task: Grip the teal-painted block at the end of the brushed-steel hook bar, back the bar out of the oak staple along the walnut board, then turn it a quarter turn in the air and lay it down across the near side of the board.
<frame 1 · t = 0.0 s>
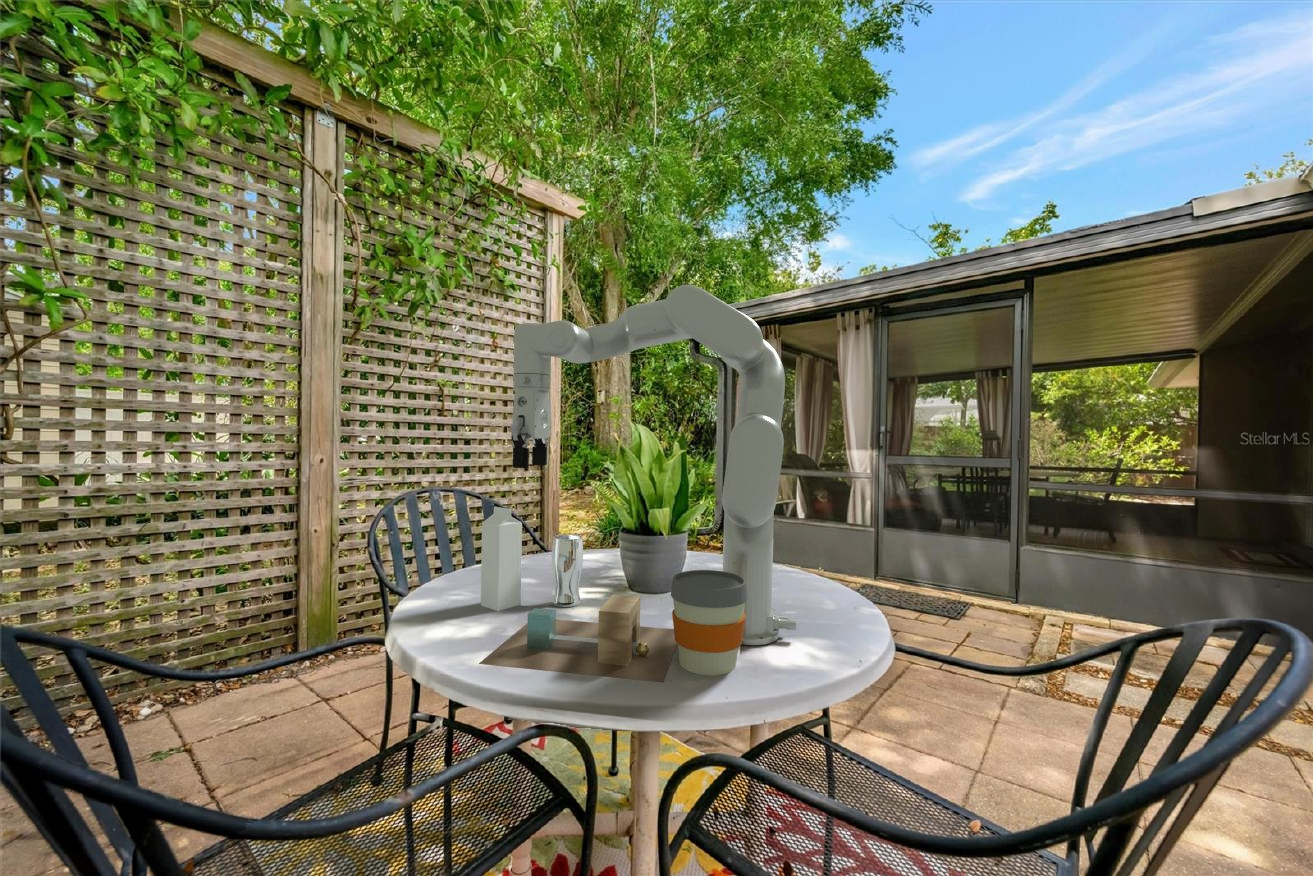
hand: (530, 466, 115), 31 cm above the table, tool pointing down, fingers open, 9 cm apart
milk: (500, 611, 118), on the table
reusable coffee cup: (707, 671, 90), on the table
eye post: (619, 660, 94), resting on board
hook rod: (541, 646, 96), point 1 cm above the table, touching board
board: (589, 652, 97), on the table
beer glass: (566, 604, 124), on the table
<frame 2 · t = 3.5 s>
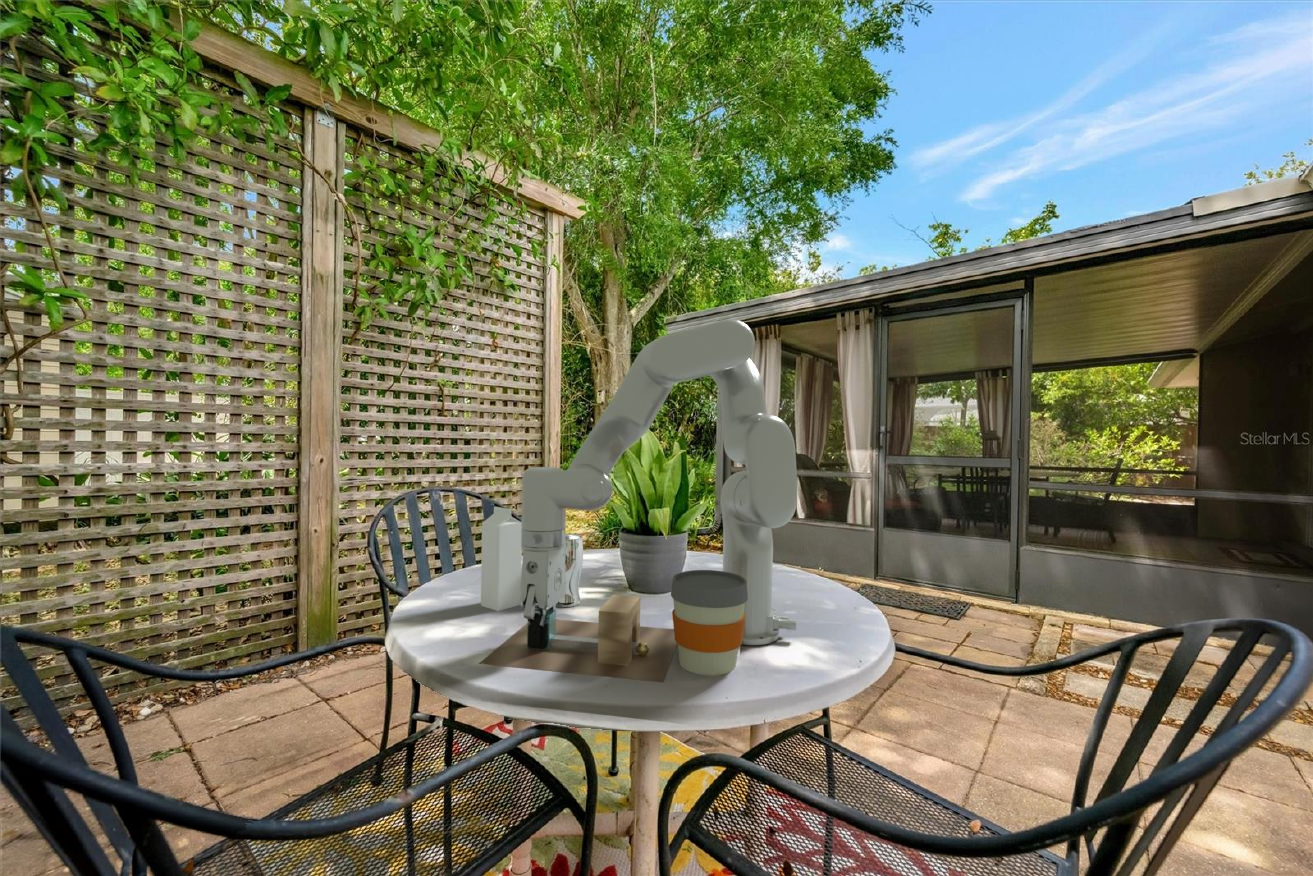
hand: (541, 642, 96), 2 cm above the table, tool pointing down, fingers closed on hook rod, 3 cm apart
hook rod: (541, 646, 96), point 1 cm above the table, touching board, gripper
everything else where it was.
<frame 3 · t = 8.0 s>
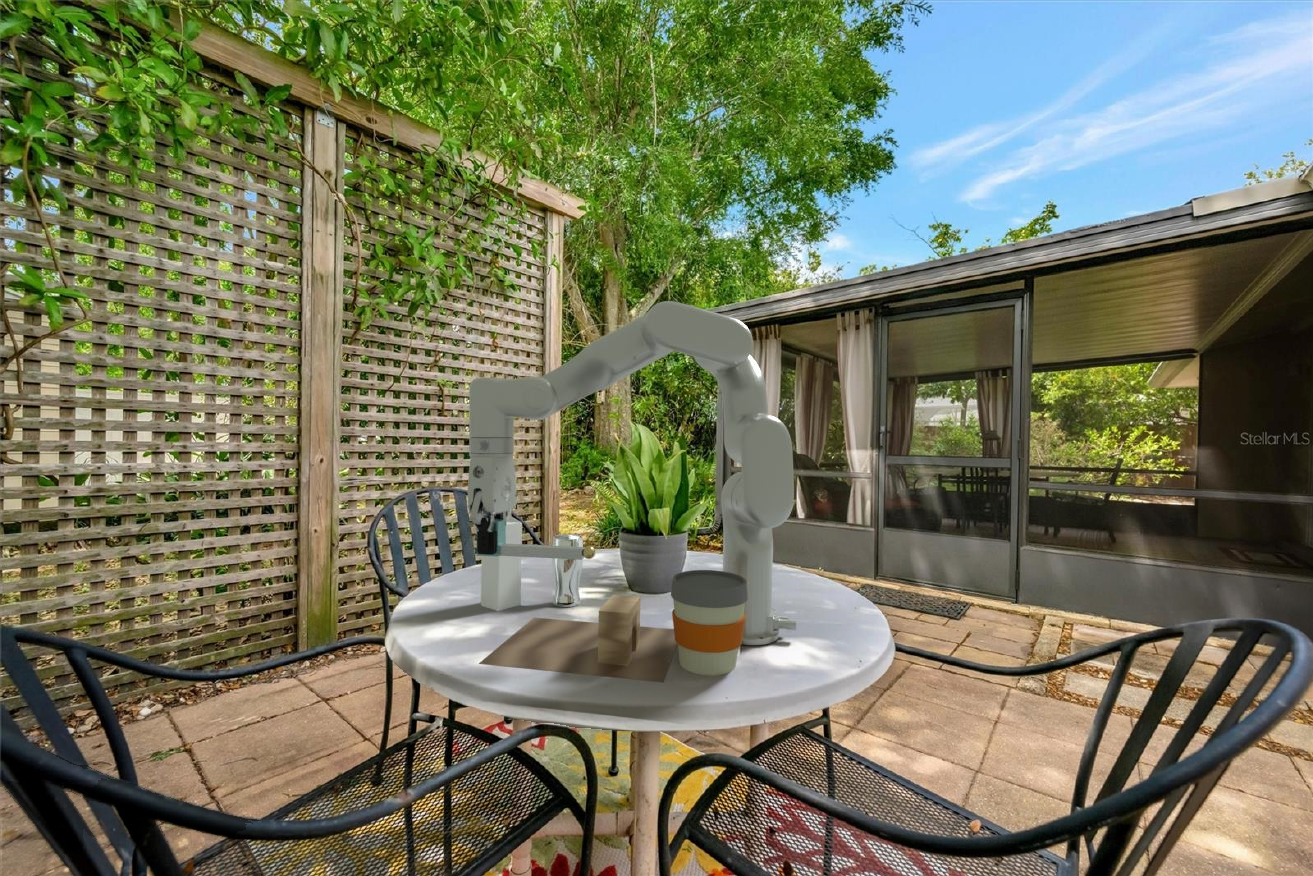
hand: (491, 550, 98), 17 cm above the table, tool pointing down, fingers closed on hook rod, 3 cm apart
hook rod: (491, 554, 98), point 17 cm above the table, touching gripper
everything else where it was.
when the fingers open (3 cm above the table, at t = 12.9 s): hook rod drops 1 cm, resting on board.
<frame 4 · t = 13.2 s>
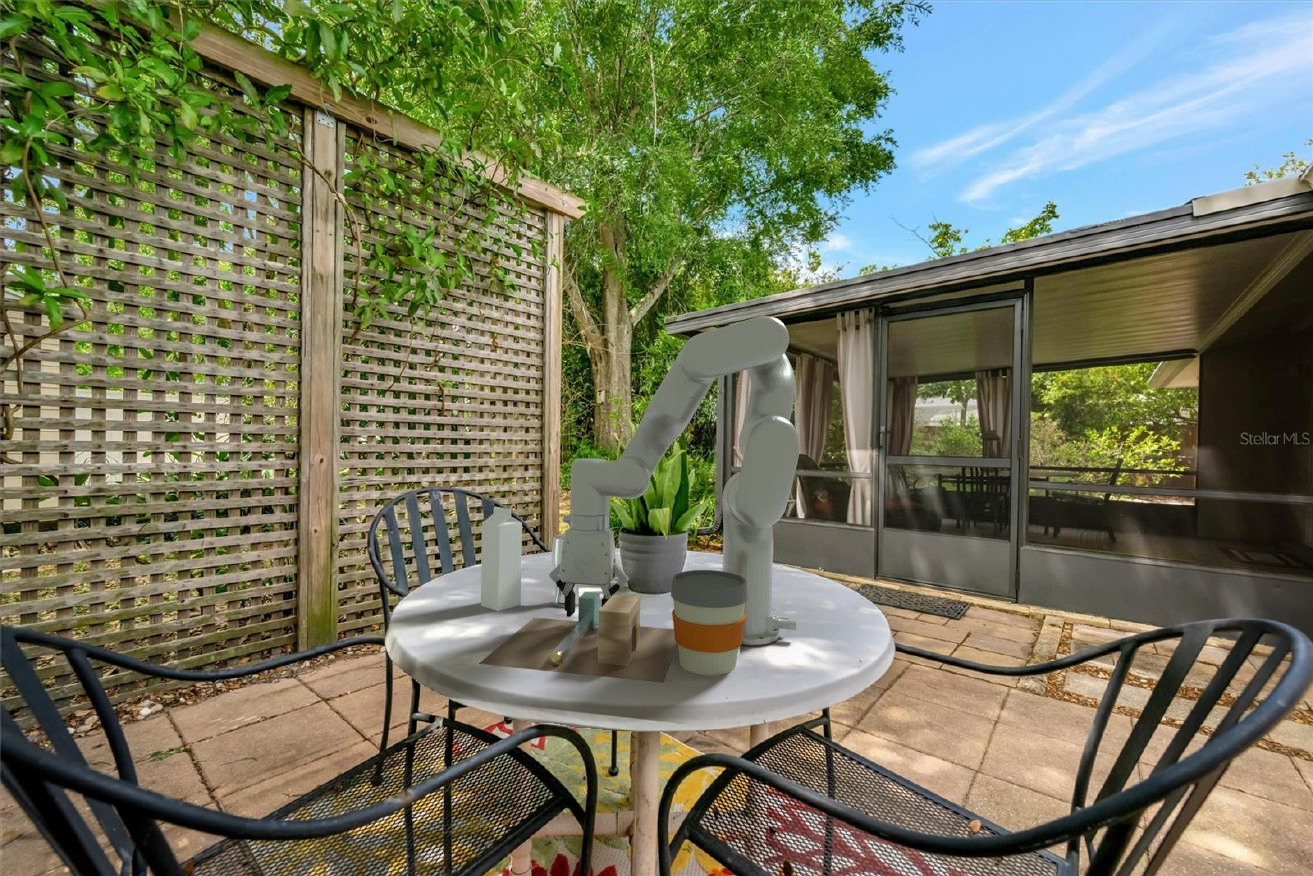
hand: (587, 615, 106), 3 cm above the table, tool pointing down, fingers open, 6 cm apart
hook rod: (588, 626, 106), point 1 cm above the table, touching board
everything else where it was.
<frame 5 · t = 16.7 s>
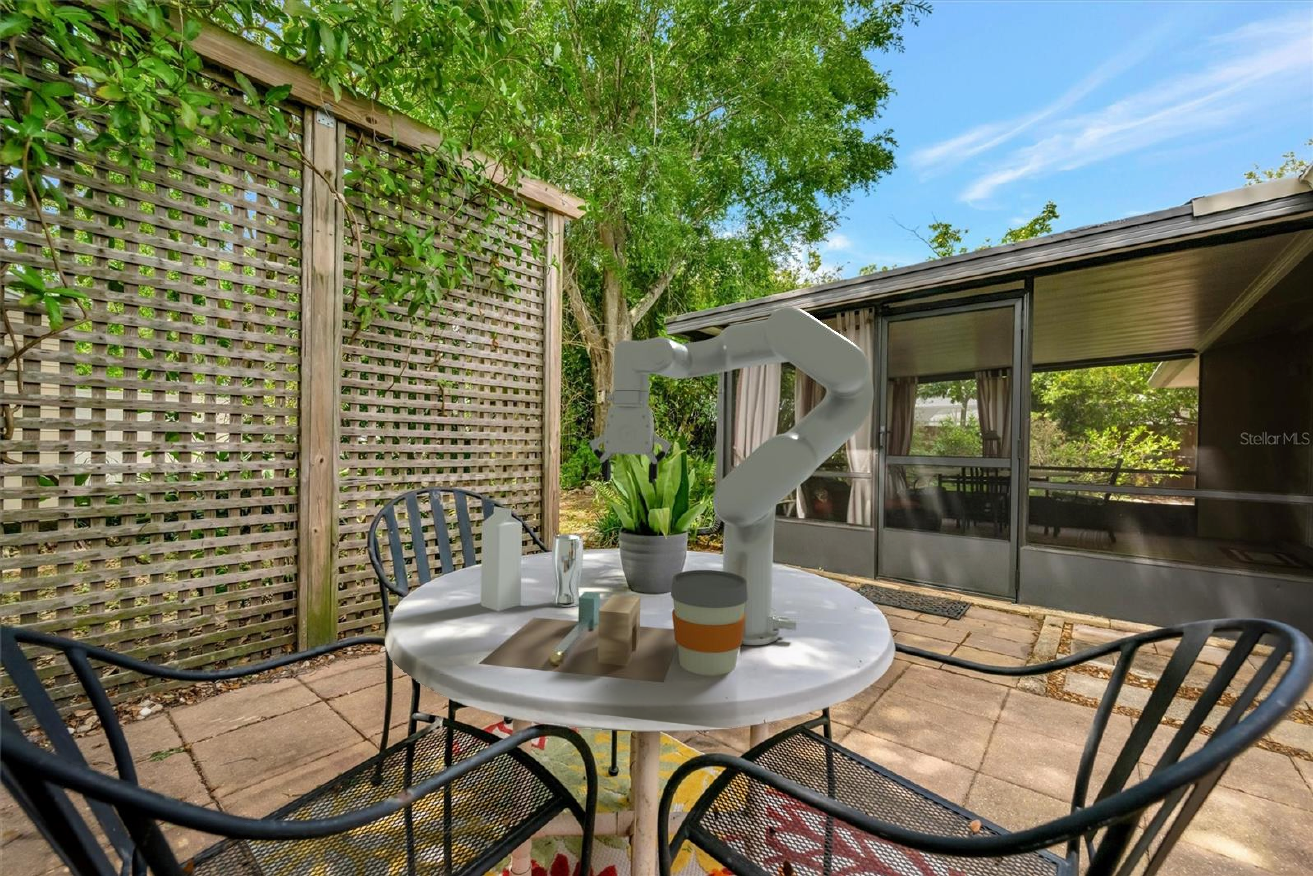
hand: (629, 481, 116), 28 cm above the table, tool pointing down, fingers open, 9 cm apart
nothing on the table moved.
at the end: hook rod inside the target area (0.3 cm from its centre), point 1.2 cm above the table; hook rod touching board; the gripper is holding nothing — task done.
